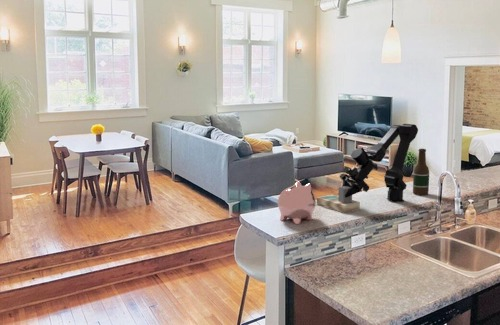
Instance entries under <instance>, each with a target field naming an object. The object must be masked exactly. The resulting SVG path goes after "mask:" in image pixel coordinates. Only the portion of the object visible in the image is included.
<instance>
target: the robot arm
mask: <svg viewBox="0 0 500 325" xmlns="http://www.w3.org/2000/svg"><path fill="white" fill-rule="evenodd" d="M418 132H419V128H418V127H417V124H413V123H403V124H393V125H391V126H390V129H389V130H388V131H387V132H386V133H385V135H384V136H383V137H382V138H381V140H380V141H379V142H378V143H377V144H374V145H373V146H371V147H369V148H368V150H367V151H366V150H365V149H364V147H362V146H359V147H358V148H355V149H354V150H353V151H351V153H350V157H351V159H352V160H353V161H354V162H355V164H357V167H358V166H359V167H358V168H357V167H355V166H352V167H349V166H347V165H344V166H343V169H342V173H341V174H340V175H339V176H338V177H339V178H340V179H341V180H342V186H348V187H350V189H349V190H348V192H347V193H346V195H345V197H346V198H347V197H349V196H351V195H352V196H353V195H356V194H358V193H360V192H366V193H368V191H369V190H370V185H369V184H367V183H366V181H365V179H367V180H368V178H369V175H370V173H371V172H372V171H373V170H375V171H378V164H377V163H380V162H382V161H383V159H384V157H386V153H387V149H389V147H390V146H391V145H392V143H393V142H394V141H395V140H396V139H397V138H398V137H399V143H398V146H397V149H396V152H395V155H394V159H393V163H392V166H391V167H390V168H389V169H386V171H385V174H384V176H383V177H384V179H383V180H384V183H385V187H386V188H388V190H387V198H386V199H387V200H388V201H389V202H391V203H394V202H396V203H397V202H405V199H404V190H406V189H407V184H406V183H405V181H404V174H403V168H404V165H405V161H406V159H407V155H408V152H409V148H410V144H411V143H412V142H413V141H414V139H416V137H417V134H418ZM374 162H376V163H374Z"/></svg>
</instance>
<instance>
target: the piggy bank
mask: <svg viewBox="0 0 500 325" xmlns="http://www.w3.org/2000/svg"><path fill="white" fill-rule="evenodd" d="M312 189H313V188H312V185H311V183H307V184H305V185H302V183H301V182H300V181H296V182H295V183H294V184H293V185H291V186H288V187H287V188H284V189H283V190H282V192H281V193H280V194H279V196H278V199H277V208H278V210H279V212H280V218H279V221H287V220H288V219H290V220H292V221H293V224H295V225H300V224H301V223H302V220H303V219H305V220H307V221H312V220H313V213H314V211H315V208H316V205H317V199H316V197H315V195H314V191H313V190H312Z"/></svg>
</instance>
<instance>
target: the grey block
mask: <svg viewBox="0 0 500 325" xmlns="http://www.w3.org/2000/svg"><path fill="white" fill-rule="evenodd" d="M349 189H350V187H348V186H343V185H342V186H338V196H339V198H338V201H339V202H341V203H343V204H344V203H352V200H353V195H351V196H349V197H347V198H346V197H345V195H346V193H347V192H348V190H349Z"/></svg>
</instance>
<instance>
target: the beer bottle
mask: <svg viewBox="0 0 500 325" xmlns="http://www.w3.org/2000/svg"><path fill="white" fill-rule="evenodd" d="M426 152H427V149H426V148H419V149H418V157H417V162H416V164H415V166H414V169H413V174H412V175H413V176H412V177H413V178H412V193H413V195H415V196H420V197H421V196H428V195H429V190H430V188H429V187H430V186H429V185H430V170H429V166H428V165H427V158H426V157H427V156H426V155H427V154H426Z"/></svg>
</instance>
